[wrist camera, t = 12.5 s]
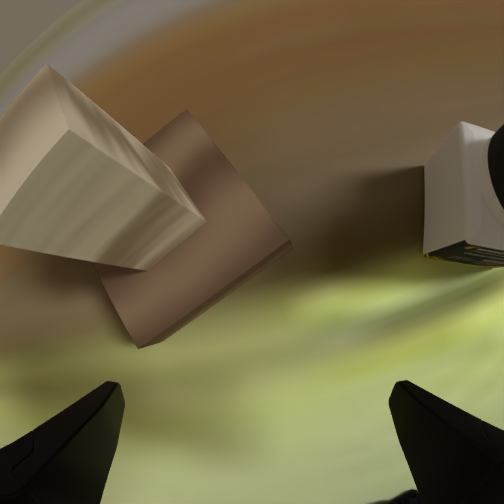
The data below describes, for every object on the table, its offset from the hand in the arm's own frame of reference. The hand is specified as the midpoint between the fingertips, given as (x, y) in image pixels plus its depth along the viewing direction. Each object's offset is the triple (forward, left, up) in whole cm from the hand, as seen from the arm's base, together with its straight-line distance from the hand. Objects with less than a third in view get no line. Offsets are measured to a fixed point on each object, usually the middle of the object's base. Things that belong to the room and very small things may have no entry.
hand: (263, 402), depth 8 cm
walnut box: (+11, +2, -12) cm, 17 cm away
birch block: (+11, +2, -8) cm, 14 cm away
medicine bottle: (-1, -16, -12) cm, 20 cm away
